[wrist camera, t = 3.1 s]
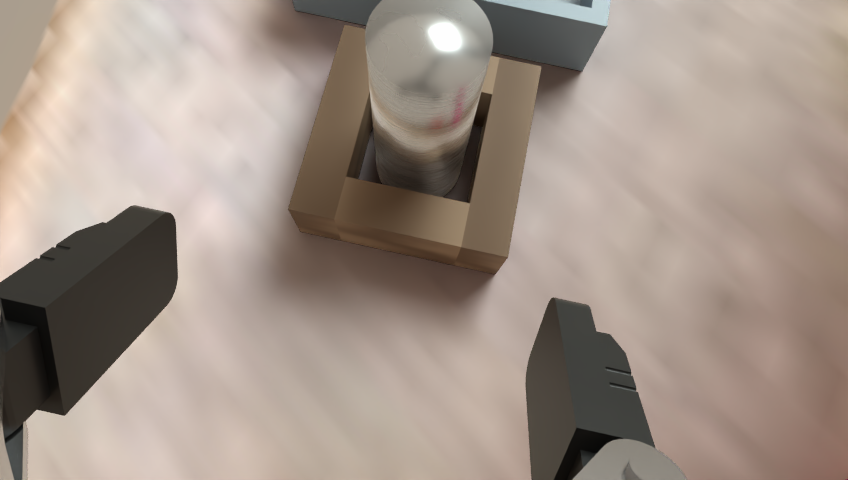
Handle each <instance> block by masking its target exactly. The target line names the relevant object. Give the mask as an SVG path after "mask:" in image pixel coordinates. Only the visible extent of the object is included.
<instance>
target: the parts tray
mask: <svg viewBox="0 0 848 480" xmlns="http://www.w3.org/2000/svg"><path fill="white" fill-rule="evenodd" d="M292 1H293V5H294V8H295V10H296V11H301V12H306V13H310V14H315V15H320V16H324V17H329V18H334V19H339V20H343V21H348V22H353V23H357V24H362V25H367V22H368V19H369V17H370V15H371V13H372V11H373V10H374V9H375V7H376V6H377V5H378V4H379V3H380V2H381V1H382V0H292ZM473 1H474V2H476V3H477V4H478V6H479V7H480V8H481V9H482V10H483V12H484V13H485V15H486V16H487V18H488V20H489V22H490V25H491V28H492V33H493V48H492V52H494V53H499V54H503V55H508V56H513V57H517V58H522V59H527V60H531V61H536V62H541V63H546V64H550V65H555V66H560V67H564V68H569V69H574V70H579V71H583V69H584V67H585V65H586V63H587V62H588V60H589V58H590V56H591V54H592V53H593V51H594V49H595V47H596V45H597V44H598V42H599V40H600V38H601V36H602V34H603V33H604V31H605V29H606V27H607V23H608V15H609V8H610V1H611V0H473Z"/></svg>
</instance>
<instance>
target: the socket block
mask: <svg viewBox="0 0 848 480" xmlns="http://www.w3.org/2000/svg"><path fill="white" fill-rule="evenodd" d="M365 30H366V29H363V28H358V27H354V26H349V25H344V27H343V31H342V34H341V37H340V41H339V44H338V47H337V50H336V54H335V57H334V60H333V64H332V67H331V70H330V73H329V77H328V80H327V83H326V86H325V90H324V93H323V96H322V100H321V103H320V106H319V109H318V113H317V116H316V119H315V122H314V126H313V129H312V132H311V136H310V139H309V142H308V145H307V149H306V152H305V155H304V159H303V162H302V165H301V168H300V172H299V175H298V178H297V181H296V185H295V188H294V191H293V195H292V198H291V201H290V204H289V208H288V210H289V212H290V214H291V215H292V217H293V219H294V221H295V223H296V224H297V226H298V228H299V230H300V232H305V233H309V234H314V235H318V236H323V237H327V238H332V239H337V240H341V241H346V242H350V243H355V244H359V245H364V246H368V247H373V248H377V249H382V250H387V251H391V252H396V253H400V254H405V255H409V256H414V257H418V258H423V259H428V260H432V261H437V262H441V263H446V264H450V265H455V266H459V267H464V268H469V269H473V270H478V271H482V272H487V273H491V274H496V273H497V271H498V270H499V269H500V267H501V266H502V265H503V263H504V262H505V260H506V259H507V258H508V254H509V248H510V242H511V237H512V231H513V225H514V220H515V214H516V208H517V203H518V197H519V191H520V186H521V180H522V174H523V169H524V163H525V157H526V152H527V146H528V140H529V135H530V129H531V123H532V118H533V112H534V106H535V101H536V95H537V89H538V84H539V78H540V72H541V67H542V66H537V65H532V64H528V63H523V62H518V61H514V60H509V59H504V58H499V57H495V56H491V57H490V61H489V64H488V68H487V72H486V76H485V80H484V83H483V87H482V91H481V95H480V99H479V102H478V106H477V110H476V114H475V118H474V121H473V125H474V126H479V127H482V131H481V136H480V141H479V145H478V150H477V155H476V160H475V165H474V170H473V175H472V180H471V184H470V189H469V194H468V199H467V203H466V202H461V201H457V200H452V199H447V198H443V197H438V196H434V195H429V194H424V193H420V192H415V191H411V190H406V189H401V188H397V187H392V186H388V185H383V184H378V183H374V182H369V181H365V180H360V179H358V177H359V174H360V170H361V166H362V163H363V159H364V155H365V151H366V148H367V144H368V140H369V137H370V133H371V129H372V126H373V121H372V110H371V99H370V88H369V77H368V66H367V54H366V43H365Z"/></svg>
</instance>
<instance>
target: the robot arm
mask: <svg viewBox="0 0 848 480" xmlns="http://www.w3.org/2000/svg"><path fill="white" fill-rule="evenodd" d="M177 279H178V270H177V243H176V222H175V219H174V216H173V215H172V214H171V213H168V212H163V211H159V210H154V209H150V208H145V207H140V206H131V207H129V208H127V209H126V210H124V211H123V212H122V213H120V214H119V215H117V216H116V217H114V218H113V219H112V220H110V221H109V222H107V223H103V222H102V223H99V224H96V225H93V226H91V227H88V228H85V229H82V230H79V231H76V232H75V233H73V234H72V235H70V236H69V237H67V238H66V239H64V240H63V241H61V242H60V243H58V244H57V245H56V248H54V247H52V248H51V249H49V250H48V251H46V252H45V253H43V254H42V255H40V258H39V259H37V258H36V259H34V260H33V261H31V262H30V263H28V264H27V265H25V266H24V267H22V268H21V269H19V270H18V271H16V272H15V273H13V274H12V275H10V276H9V277H8V278H6V279H5V280H3V281H2V282H0V480H28V428H27V424H26V420H27V419H28V418H29V417H30V416H31V415H32V414H33V413H34V412H35V411H36V410H41V411H46V412H50V413H55V414H59V415H64V416H65V415H66V414H67V413H68V412H69V410H70V409H71V408H72V407H73V406H74V405H75V404H76V403H77V402H78V401H79V400H80V399H81V398H82V396H83V395H84V394H85V393H86V392H87V391H88V390H89V389H90V388H91V387H92V386H93V385H94V384H95V382H96V381H97V380H98V379H99V378H100V377H101V376H102V375H103V374H104V373H105V372H106V371H107V369H108V368H109V367H110V366H111V365H112V364H113V363H114V362H115V361H116V360H117V359H118V358H119V357H120V355H121V354H122V353H123V352H124V351H125V350H126V349H127V348H128V347H129V346H130V345H131V344H132V342H133V341H134V340H135V339H136V338H137V337H138V336H139V335H140V334H141V333H142V332H143V331H144V330H145V328H146V327H147V326H148V325H149V324H150V323H151V322H152V321H153V320H154V319H155V318H156V317H157V315H158V314H159V313H160V312H161V311H162V310H163V309H164V308H165V307H166V306H167V305H168V303H169V302H170V300H171V299H172V297H173V294H174V292H175V289H176V285H177ZM526 399H527V415H528V431H529V446H530V462H531V478H532V480H687V478H686V477H685V475H684V474H683V472H682V471H681V470H680V468H679V467H678V466H677V465H676V464H675V463H674V462H673V461H672V460H671V459H670V458H669V457H667V456H666V455H665V454H663V453H662V452H660V451H659V450H657V449H656V448H655V445H654V442H653V439H652V436H651V433H650V429H649V426H648V423H647V420H646V417H645V414H644V410H643V407H642V404H641V401H640V398H639V395H638V392H636V385H635V382H634V379H633V376H631V369H630V366H629V363H628V360H627V357H626V353H625V352H624V351H623V350H622V348H621V347H620V346H619V345H618V343H617V342H616V341H615V340H614V339H613V337H612V336H611V335H610V334H606V333H601V332H597V331H596V328H595V325H594V321H593V317H592V313H591V309H590V307H589V305H586V304H581V303H576V302H572V301H567V300H563V299H558V298H551V300H550V301H549V303H548V306H547V308H546V311H545V314H544V317H543V320H542V322H541V325H540V328H539V331H538V334H537V337H536V340H535V342H534V345H533V348H532V351H531V354H530V357H529V361H528V366H527V372H526Z"/></svg>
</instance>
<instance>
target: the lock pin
mask: <svg viewBox="0 0 848 480" xmlns="http://www.w3.org/2000/svg"><path fill="white" fill-rule="evenodd" d="M365 43H366V54H367V66H368V77H369V88H370V99H371V110H372V121H373V132H374V143H375V154H376V165H377V172H378V176H379V178H380V180H381V182H382V184H383V185H388V186H392V187H397V188H401V189H406V190H411V191H415V192H420V193H424V194H429V195H434V196H438V197H443V196H445V195H446V194H447V193H448V192H449V191H450V190H451V189H452V188H453V187H454V185H455V184H456V182H457V180H458V178H459V174H460V171H461V167H462V163H463V159H464V155H465V152H466V148H467V144H468V140H469V137H470V133H471V129H472V125H473V121H474V118H475V114H476V110H477V106H478V102H479V99H480V95H481V91H482V87H483V83H484V80H485V76H486V72H487V68H488V64H489V61H490V57H491V53H492V48H493V33H492V28H491V25H490V22H489V20H488V18H487V16H486V15H485V13H484V12H483V10H482V9H481V8H480V7H479V6H478V4H477V3H476V2H474V1H473V0H382V1H381V2H380V3H379V4H378V5H377V6H376V7H375V9H374V10H373V11H372V13H371V15H370V17H369V19H368V22H367V26H366V30H365Z"/></svg>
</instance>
